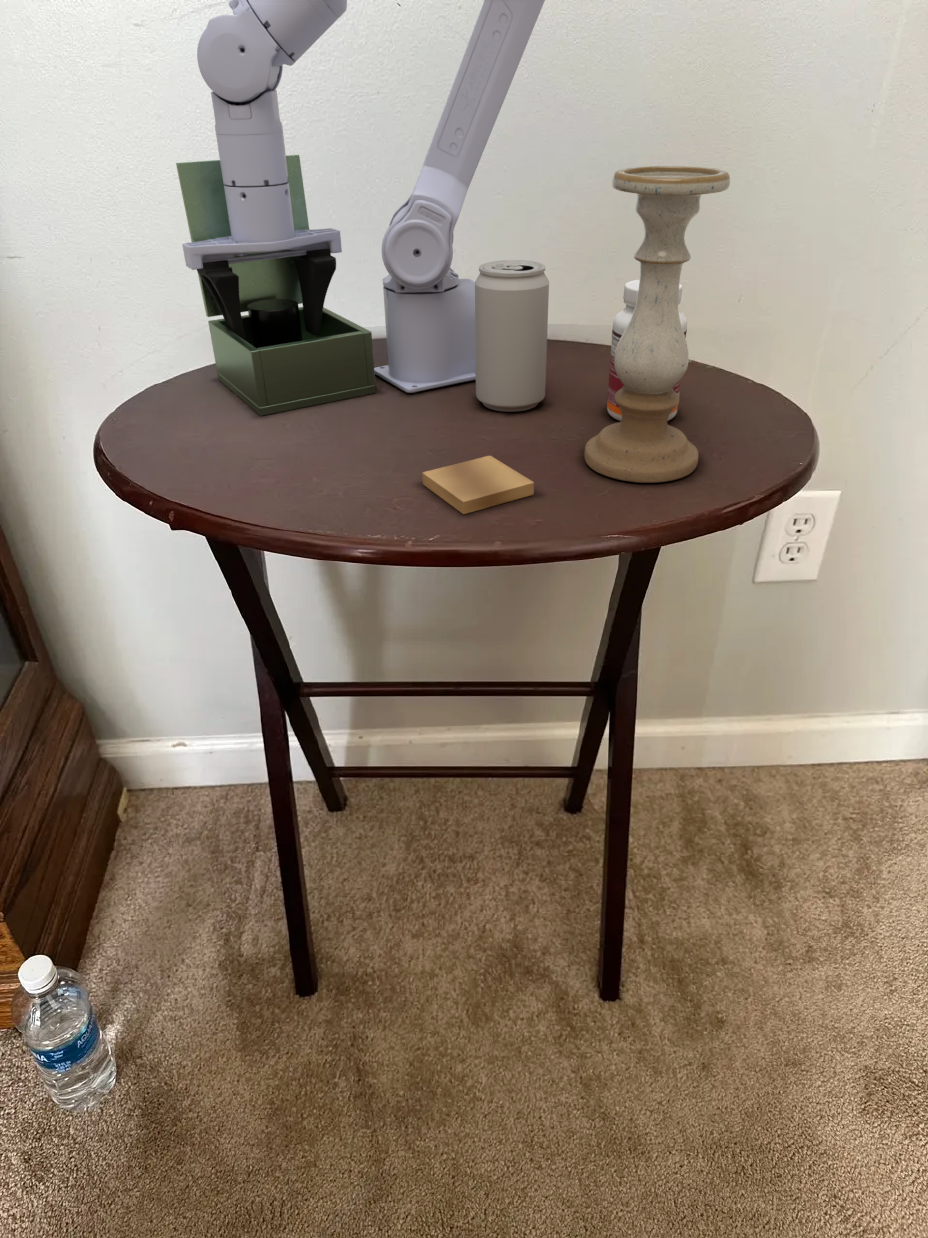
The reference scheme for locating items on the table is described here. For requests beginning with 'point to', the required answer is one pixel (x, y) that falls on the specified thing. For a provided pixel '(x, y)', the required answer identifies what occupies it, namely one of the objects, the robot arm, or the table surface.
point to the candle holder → (654, 331)
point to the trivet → (477, 484)
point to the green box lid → (212, 222)
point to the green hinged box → (296, 365)
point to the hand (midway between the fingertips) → (276, 338)
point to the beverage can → (511, 334)
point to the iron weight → (274, 322)
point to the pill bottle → (617, 331)
